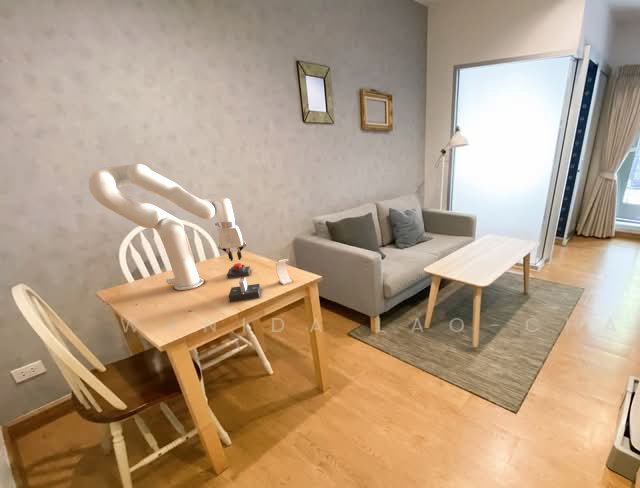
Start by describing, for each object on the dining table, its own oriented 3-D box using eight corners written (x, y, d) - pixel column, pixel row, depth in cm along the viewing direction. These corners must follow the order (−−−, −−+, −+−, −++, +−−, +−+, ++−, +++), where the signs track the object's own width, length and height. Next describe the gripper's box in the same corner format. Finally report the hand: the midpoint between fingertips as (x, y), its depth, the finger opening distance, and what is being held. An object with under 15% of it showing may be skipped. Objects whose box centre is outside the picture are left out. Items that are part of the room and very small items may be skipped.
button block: (228, 278, 167) (226, 271, 166) (230, 272, 174) (228, 265, 173) (249, 275, 170) (247, 268, 168) (250, 270, 177) (249, 263, 175)
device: (229, 302, 144) (228, 296, 142) (233, 292, 152) (231, 286, 151) (259, 298, 147) (257, 291, 145) (260, 289, 155) (259, 283, 154)
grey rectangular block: (245, 291, 146) (243, 281, 144) (241, 292, 145) (238, 282, 143) (247, 286, 151) (244, 276, 148) (243, 287, 150) (240, 277, 148)
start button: (233, 269, 168) (232, 266, 168) (234, 266, 172) (234, 263, 171) (241, 268, 169) (240, 265, 169) (242, 266, 173) (241, 262, 172)
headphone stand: (283, 284, 159) (278, 261, 154) (278, 280, 163) (273, 258, 158) (292, 282, 162) (288, 259, 156) (287, 278, 166) (283, 255, 161)
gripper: (207, 228, 155) (217, 264, 163) (244, 224, 160) (252, 260, 167) (210, 224, 162) (219, 259, 170) (246, 221, 166) (253, 255, 174)
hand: (235, 259), depth 168 cm, fingers open, 3 cm apart
